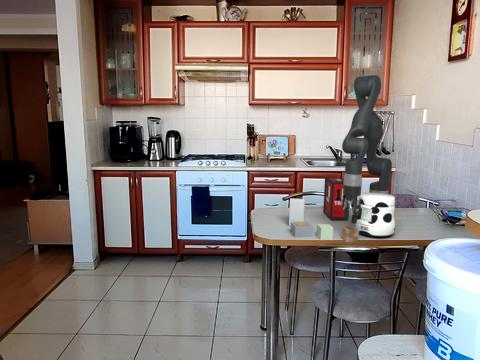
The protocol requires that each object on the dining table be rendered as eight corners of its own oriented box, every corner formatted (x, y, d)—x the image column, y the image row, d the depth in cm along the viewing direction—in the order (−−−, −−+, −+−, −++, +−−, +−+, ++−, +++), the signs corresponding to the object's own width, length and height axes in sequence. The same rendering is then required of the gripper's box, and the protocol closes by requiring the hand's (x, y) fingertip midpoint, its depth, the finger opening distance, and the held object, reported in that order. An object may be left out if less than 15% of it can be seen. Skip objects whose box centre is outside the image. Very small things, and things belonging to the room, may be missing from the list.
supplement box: (303, 227, 192) (304, 202, 190) (288, 226, 193) (289, 201, 191) (304, 223, 199) (305, 198, 197) (289, 222, 200) (290, 198, 198)
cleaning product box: (348, 220, 204) (350, 182, 201) (331, 220, 204) (333, 182, 200) (338, 212, 220) (340, 177, 217) (323, 212, 220) (324, 177, 217)
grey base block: (307, 231, 186) (307, 220, 185) (312, 237, 178) (312, 225, 177) (290, 232, 184) (290, 221, 184) (295, 237, 177) (295, 226, 176)
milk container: (391, 230, 189) (394, 193, 186) (397, 241, 172) (400, 201, 169) (354, 227, 193) (356, 191, 190) (355, 238, 176) (358, 198, 173)
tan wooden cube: (352, 237, 177) (353, 226, 176) (358, 241, 172) (358, 229, 171) (341, 238, 176) (341, 226, 175) (346, 242, 171) (346, 230, 170)
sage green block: (328, 235, 180) (328, 224, 179) (332, 239, 174) (333, 227, 173) (316, 236, 179) (317, 224, 178) (320, 240, 173) (321, 228, 172)
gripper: (368, 187, 163) (365, 225, 166) (354, 181, 177) (351, 216, 180) (350, 187, 162) (348, 225, 165) (338, 181, 176) (335, 216, 179)
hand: (349, 220), depth 172 cm, fingers open, 8 cm apart
